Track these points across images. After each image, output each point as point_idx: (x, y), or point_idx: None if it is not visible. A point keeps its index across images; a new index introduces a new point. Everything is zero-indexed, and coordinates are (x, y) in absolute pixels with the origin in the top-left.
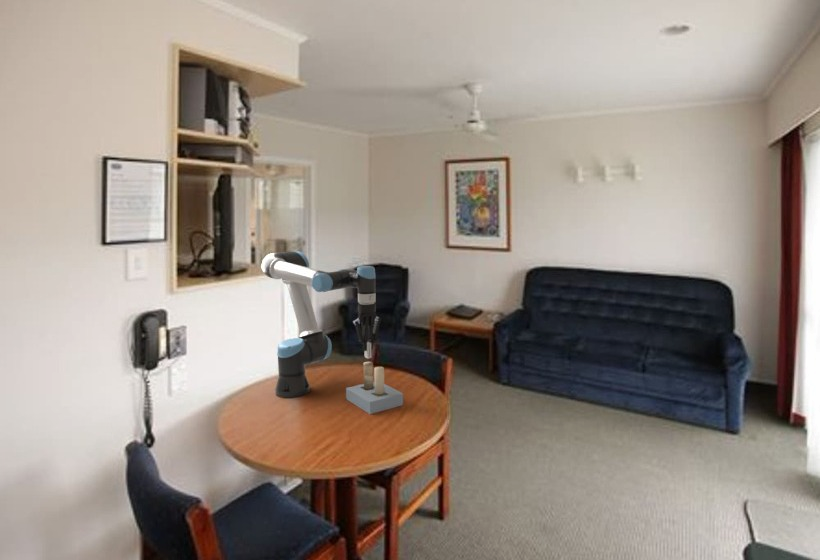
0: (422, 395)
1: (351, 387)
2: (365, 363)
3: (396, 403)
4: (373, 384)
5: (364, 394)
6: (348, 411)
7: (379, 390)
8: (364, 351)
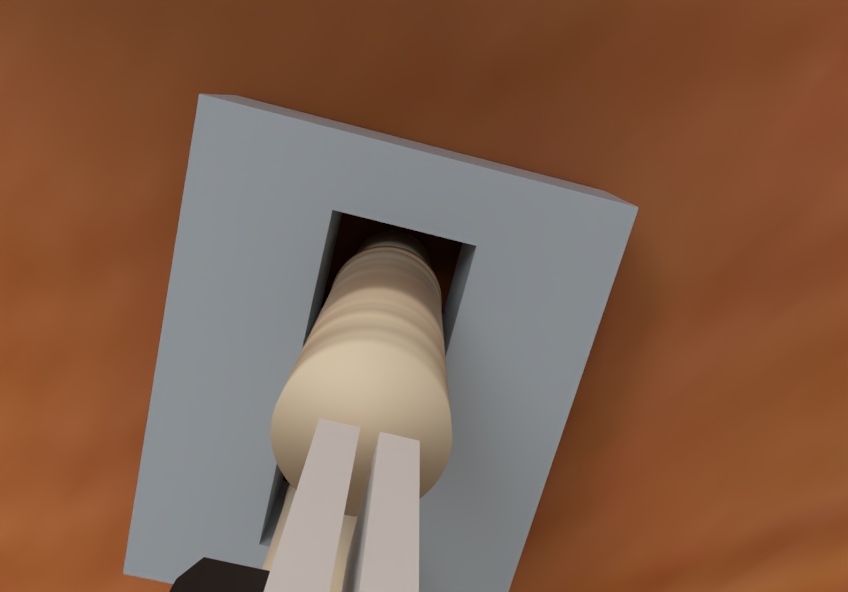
0: (755, 554)
1: (258, 134)
2: (307, 420)
3: None
4: (501, 265)
5: (216, 406)
6: (78, 327)
7: None
8: (294, 499)
